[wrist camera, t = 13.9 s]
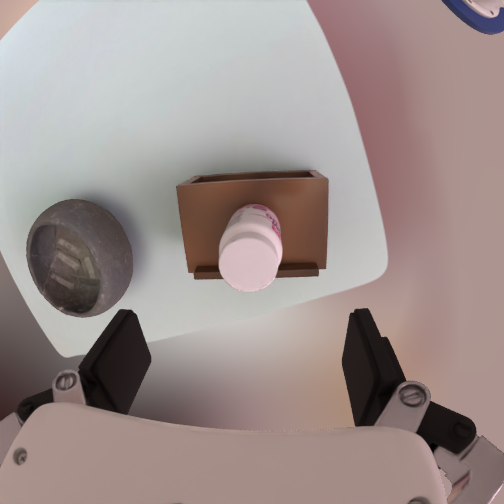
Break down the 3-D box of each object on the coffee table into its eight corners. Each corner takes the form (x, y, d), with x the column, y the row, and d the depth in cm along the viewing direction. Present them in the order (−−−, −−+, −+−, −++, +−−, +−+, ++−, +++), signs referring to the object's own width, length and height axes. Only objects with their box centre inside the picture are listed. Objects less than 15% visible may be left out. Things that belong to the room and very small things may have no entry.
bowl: (134, 303, 39) (105, 345, 30) (59, 261, 38) (21, 291, 28) (161, 216, 34) (125, 245, 25) (73, 174, 32) (24, 190, 23)
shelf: (316, 170, 31) (332, 181, 23) (315, 243, 34) (328, 276, 26) (194, 176, 32) (170, 189, 24) (202, 247, 35) (184, 279, 27)
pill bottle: (290, 223, 26) (299, 262, 18) (259, 260, 28) (254, 309, 20) (249, 192, 25) (240, 217, 18) (219, 231, 27) (199, 271, 19)
